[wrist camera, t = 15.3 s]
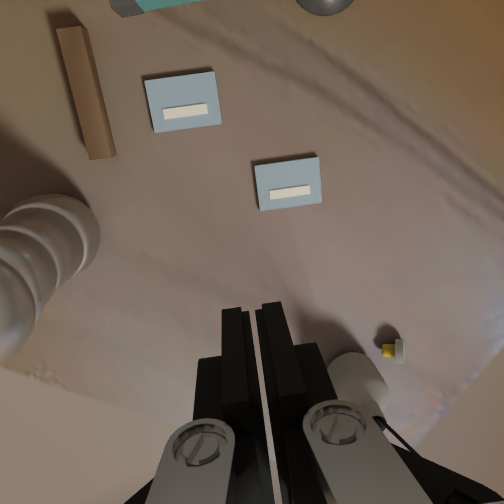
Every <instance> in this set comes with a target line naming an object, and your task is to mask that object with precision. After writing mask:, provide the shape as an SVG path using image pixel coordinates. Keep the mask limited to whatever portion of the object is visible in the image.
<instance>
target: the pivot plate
mask: <svg viewBox="0 0 504 504" xmlns="http://www.w3.org/2000/svg"><path fill="white" fill-rule="evenodd" d="M296 1H297V2H298V3H299V5H300V6H301V7H302V8H304V9H305V10H306V11H308V12H310V13H312V14H315V15H319V16H330V15H334V14H337V13H339V12H341V11H343V10H344V9H345V8H347V7H348V6H349V5H350V4H351V3H352V2H353V1H354V0H296Z"/></svg>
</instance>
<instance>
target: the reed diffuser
mask: <svg viewBox="0 0 504 504" xmlns="http://www.w3.org/2000/svg"><path fill="white" fill-rule="evenodd" d="M382 355H383V356H387V357H395V363H404V339H395V344H383V345H382ZM327 371H328V374H329V376H330V379H331V382H332V384H333V387H334V389H335V392H336V395H337V397H338V400H346V401H349V402H353V403H356V404H357V405H359V406H361V407H363V408H364V409H365V410H366V411H367V412H368V413H369V414H370V415H371V416H372V418H373V419H374V421H375V422H376V423H377V425H378V426H379V428H380V429H381V430H382V432H383V431H384V430H385V428H387V429H388V430H389V431H390V432H391V433H392V434H393V435H394V436H395V437H396V438H397V439H398V440H399V441H400V442H401V443H402V444H403V445H404V446H405V447H406V448H407V449H408V450H409V451H410V452H412V453H414V454H416V455H418V456H420V455H419V454H418V453H417V452H416V451H415V450H414V449H413V448H412V447H411V446H410V445H409V444H408V443H407V442H405V441H404V440H403V439H402V438H401V437H400V436H399V435H398V434H397V433H396V432H395V431H394V430H393V429H392V428H391V427H390V426H389V425H388V424H387V422H386V420H385V417H384V415H383V413H382V412H383V411H384V410H385V408H386V407H387V405H388V401H389V391H388V387H387V385H386V383H385V381H384V379H383V377H382V376H381V374H380V373H379V371H378V369H377V368H376V366H375V365H374V364H373V362H372V361H371V360H370V358H369V357H367V356H366V355H364V354H362V353H358V352H349V353H345V354H342V355H340V356H338V357H337V358H335V359H334V360H333V361H332V362H331V363H330V365H329V367H328V369H327Z"/></svg>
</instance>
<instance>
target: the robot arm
mask: <svg viewBox="0 0 504 504" xmlns="http://www.w3.org/2000/svg"><path fill="white" fill-rule="evenodd" d="M255 314H256V321H257V329H258V336H259V344H260V351H261V359H262V366H263V373H264V381H265V388H266V396H267V402H268V409H269V416H270V423H271V429H272V436H273V443H274V450H275V456H276V463H277V469H278V477H279V483H280V490H281V497H282V503H283V504H504V498H502V497H501V496H500V495H498V494H497V493H496V492H494V491H493V490H491V489H489V488H488V487H486V486H484V485H482V484H480V483H478V482H475V481H473V480H471V479H469V478H467V477H465V476H462V475H460V474H458V473H456V472H453V471H451V470H449V469H447V468H445V467H443V466H440V465H438V464H436V463H434V462H431V461H429V460H427V459H425V458H422V457H421V456H418V455H416V454H414V453H412V452H409V451H407V450H405V449H403V448H401V447H398V446H396V445H394V444H392V443H390V442H389V440H388V439H387V438H386V436H385V435H384V433H383V432H382V430H381V429H380V428H379V426H378V425H377V423H376V422H375V421H374V419H373V418H372V416H371V415H370V414H369V413H368V412H367V411H366V410H365V409H364V408H363V407H361V406H359V405H357V404H356V403H353V402H349V401H346V400H338V397H337V395H336V392H335V389H334V387H333V384H332V382H331V379H330V376H329V374H328V371H327V369H326V366H325V364H324V361H323V358H322V356H321V353H320V351H319V348H318V346H317V344H316V343H315V342H314V343H307V344H300V345H293V342H292V339H291V335H290V332H289V328H288V325H287V321H286V318H285V315H284V311H283V308H282V304H281V301H279V302H272V303H265V304H262V309H258V310H255ZM124 504H275V501H274V494H273V486H272V479H271V471H270V463H269V455H268V447H267V440H266V432H265V424H264V416H263V409H262V401H261V394H260V386H259V379H258V372H257V365H256V358H255V351H254V344H253V336H252V329H251V322H250V315H249V311H244V312H242V311H241V307H237V308H229V309H222V356H216V357H209V358H202V359H199V361H198V369H197V380H196V390H195V401H194V412H193V421H192V422H189V423H186V424H185V425H183V426H182V427H180V428H178V429H177V430H176V431H175V432H174V433H173V434H172V435H171V436H170V438H169V440H168V442H167V444H166V445H165V448H164V451H163V454H162V457H161V460H160V462H159V465H158V468H157V471H156V474H155V477H154V478H153V479H152V480H151V481H150V482H148V483H147V484H146V485H145V486H144V487H143V488H141V489H140V490H139V491H138V492H137V493H136V494H134V495H133V496H132V497H131V498H130V499H129V500H128V501H126V502H125V503H124Z"/></svg>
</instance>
